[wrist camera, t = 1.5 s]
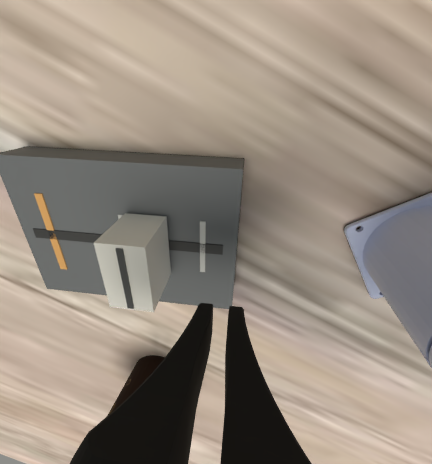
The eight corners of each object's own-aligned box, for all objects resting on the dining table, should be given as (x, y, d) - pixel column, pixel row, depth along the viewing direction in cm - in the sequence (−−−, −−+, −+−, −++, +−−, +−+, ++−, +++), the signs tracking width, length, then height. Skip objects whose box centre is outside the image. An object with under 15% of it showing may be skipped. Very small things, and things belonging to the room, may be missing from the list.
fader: (166, 216, 17) (144, 248, 13) (170, 273, 19) (153, 313, 16) (125, 213, 17) (92, 243, 14) (134, 269, 20) (109, 308, 16)
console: (244, 158, 18) (243, 169, 15) (233, 285, 24) (231, 310, 21) (27, 146, 19) (-10, 154, 17) (68, 268, 25) (46, 289, 22)
